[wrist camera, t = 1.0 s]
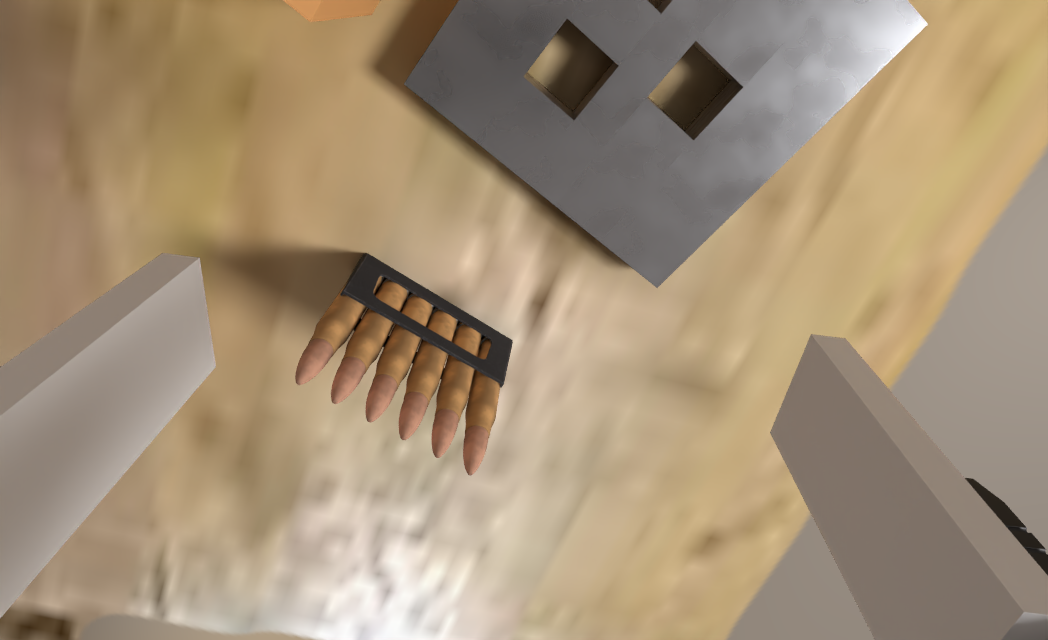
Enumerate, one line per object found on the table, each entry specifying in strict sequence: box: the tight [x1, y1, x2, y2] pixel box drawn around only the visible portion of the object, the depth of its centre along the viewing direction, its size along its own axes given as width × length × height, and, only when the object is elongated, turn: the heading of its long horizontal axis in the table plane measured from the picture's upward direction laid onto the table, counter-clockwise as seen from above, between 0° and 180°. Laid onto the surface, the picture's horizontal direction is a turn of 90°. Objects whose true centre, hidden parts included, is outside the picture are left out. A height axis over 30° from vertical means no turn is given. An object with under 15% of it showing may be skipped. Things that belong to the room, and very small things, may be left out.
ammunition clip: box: [295, 254, 513, 475], centre depth 33 cm, size 11×2×12 cm, turn 56°
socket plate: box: [404, 0, 927, 288], centre depth 29 cm, size 17×17×2 cm
